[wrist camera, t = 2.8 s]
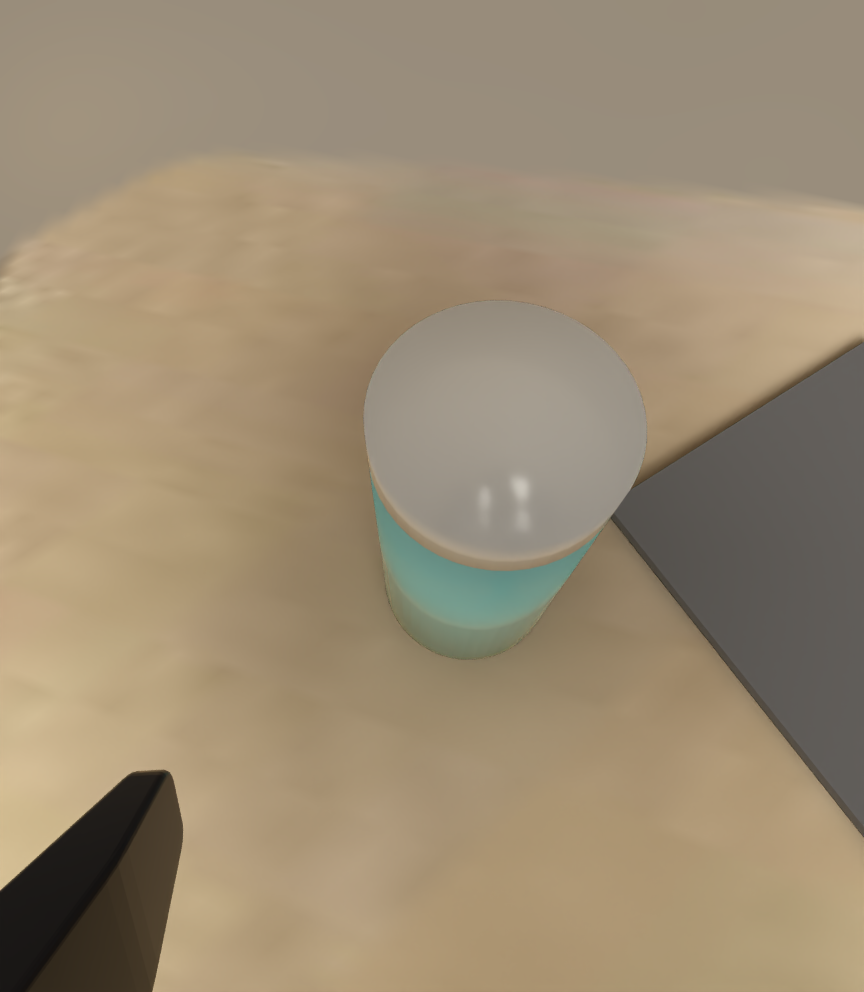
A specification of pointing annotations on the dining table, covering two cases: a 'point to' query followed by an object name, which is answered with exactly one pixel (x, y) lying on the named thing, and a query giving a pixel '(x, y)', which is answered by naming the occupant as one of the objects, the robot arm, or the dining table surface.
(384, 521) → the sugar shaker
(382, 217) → the dining table surface
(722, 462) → the rubber mat
